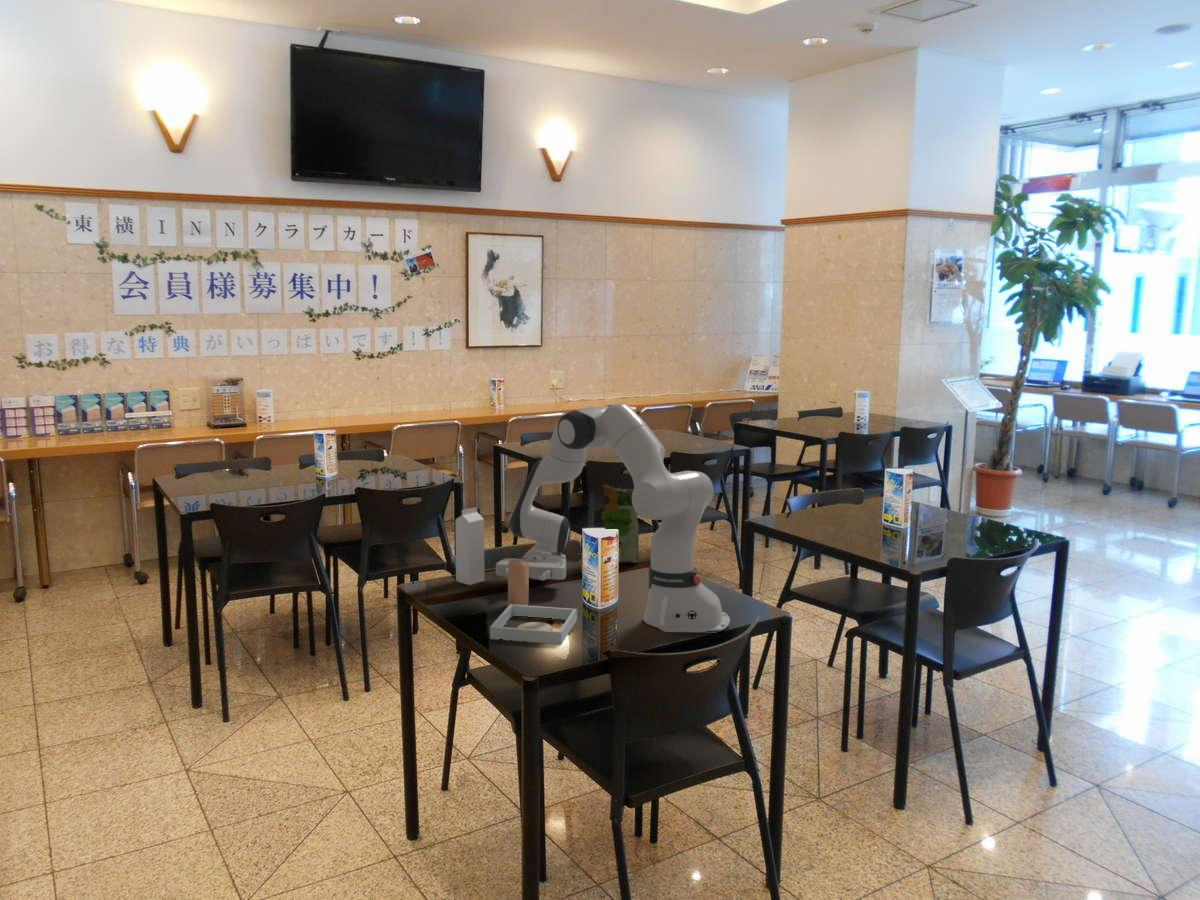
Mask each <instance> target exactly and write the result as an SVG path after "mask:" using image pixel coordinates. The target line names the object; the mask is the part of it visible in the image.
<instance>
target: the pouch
mask: <svg viewBox="0 0 1200 900" xmlns="http://www.w3.org/2000/svg"><path fill="white" fill-rule="evenodd" d="M602 488H603V491H604V493H603V496H604V500H605V501H604V502H603V506H604V507H605V510H604V511H602V513H601V519H602V520H603V522H604V523H603V526H604V530H605V529H618V530H619V536H620V539H619V548H620V550H621V554H620V563H619V564H628V563H631V564H637V563H639V558H640V557H639V546H640V545H639V542H640V541H639V540H640V539H639V537H640V536H639V534H640V532H639V528H640V526H639V522H638V516H639V515H638V514H637V513H636V511H635V509H634V507H633V504H632V493H633V490H634V489H628V488H626V489H625V488H624V489H623V488H622V487H620V486H618V488H616V487H613V486H609V485H608V484H606V483H605V484H602Z"/></svg>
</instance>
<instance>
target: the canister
mask: <svg viewBox="0 0 1200 900" xmlns="http://www.w3.org/2000/svg"><path fill="white" fill-rule="evenodd" d="M529 579H530V578H529V563H528V562H527V561H521V560H516V561H510V562H508V578H507V607H508V606H509V605H510V604H513V605H527V606H528V605H529V606H530V603H529V602H530V601H529V599H530V597H529V596H530V595H529V594H530V591H529V589H530V588H529V585H530V584H529Z"/></svg>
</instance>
